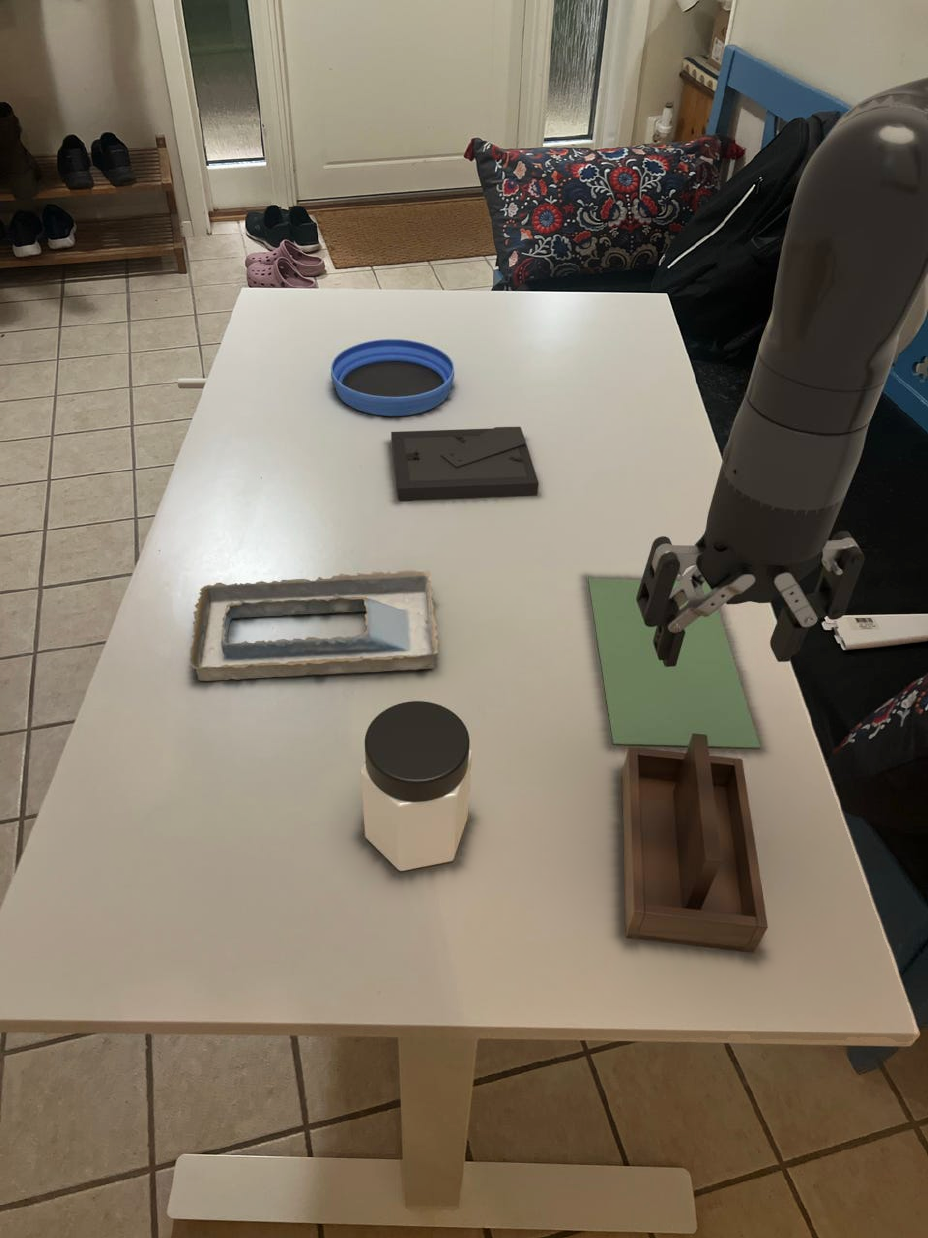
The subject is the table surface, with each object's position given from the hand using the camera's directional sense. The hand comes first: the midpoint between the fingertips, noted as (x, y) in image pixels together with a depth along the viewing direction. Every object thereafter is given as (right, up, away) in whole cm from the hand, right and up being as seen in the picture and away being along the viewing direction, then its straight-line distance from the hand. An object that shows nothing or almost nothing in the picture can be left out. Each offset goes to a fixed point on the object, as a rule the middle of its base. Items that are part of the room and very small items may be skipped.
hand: (723, 656), depth 65 cm
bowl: (-30, +37, +67) cm, 82 cm away
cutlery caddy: (0, -17, +10) cm, 20 cm away
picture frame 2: (-19, +22, +52) cm, 60 cm away
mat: (+2, -1, +28) cm, 28 cm away
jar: (-23, -15, +11) cm, 30 cm away
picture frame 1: (-35, +1, +28) cm, 45 cm away
